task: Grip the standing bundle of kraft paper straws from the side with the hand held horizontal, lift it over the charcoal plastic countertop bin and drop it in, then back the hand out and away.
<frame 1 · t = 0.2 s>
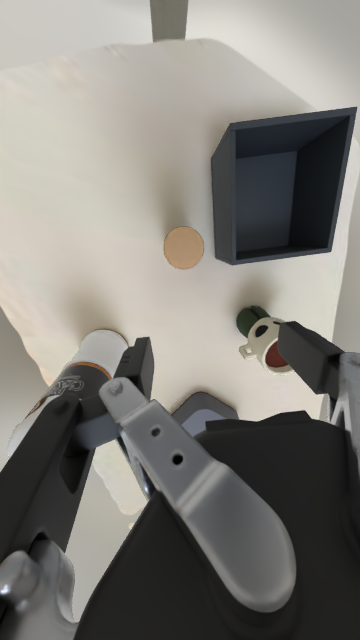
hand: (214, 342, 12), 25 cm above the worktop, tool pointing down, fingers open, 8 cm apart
vodka: (107, 347, 40), on the worktop
straw bundle: (177, 244, 33), on the worktop
character mug: (250, 319, 39), on the worktop
streaming box: (201, 417, 50), on the worktop
bin: (253, 207, 31), on the worktop
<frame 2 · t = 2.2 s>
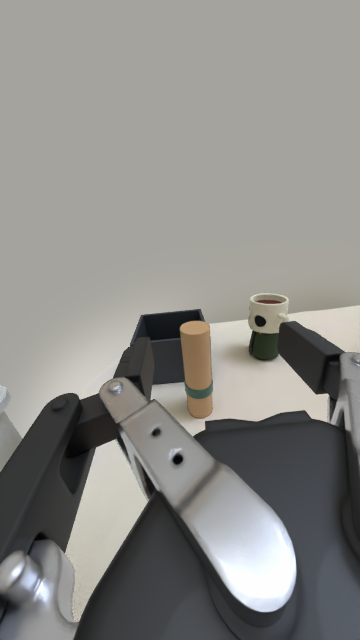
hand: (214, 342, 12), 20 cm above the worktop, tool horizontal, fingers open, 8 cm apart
straw bundle: (200, 407, 32), on the worktop
character mug: (263, 353, 44), on the worktop
bin: (175, 361, 44), on the worktop
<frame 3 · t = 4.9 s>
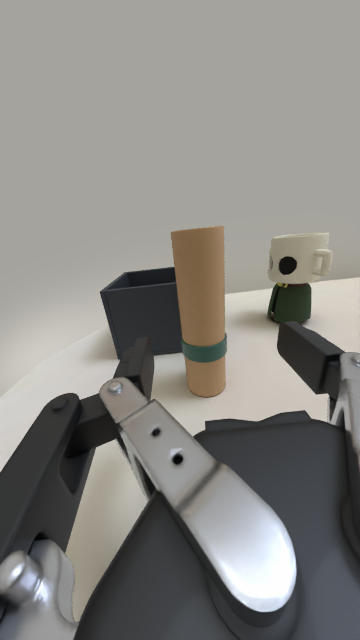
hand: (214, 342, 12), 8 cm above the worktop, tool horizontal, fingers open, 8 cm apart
straw bundle: (206, 382, 21), on the worktop
character mug: (287, 319, 33), on the worktop
bin: (169, 331, 33), on the worktop
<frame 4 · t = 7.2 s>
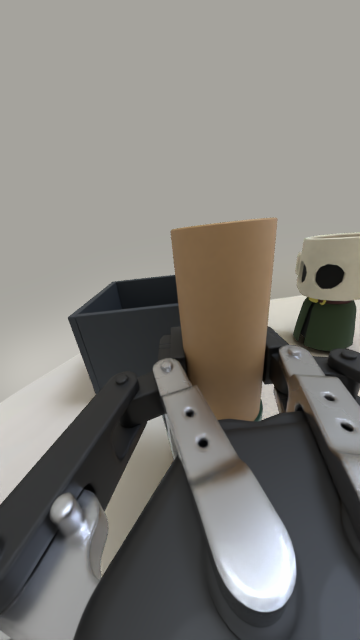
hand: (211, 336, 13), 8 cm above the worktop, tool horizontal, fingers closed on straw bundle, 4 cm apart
straw bundle: (223, 459, 14), on the worktop, touching gripper
character mug: (319, 343, 26), on the worktop
bin: (169, 358, 26), on the worktop
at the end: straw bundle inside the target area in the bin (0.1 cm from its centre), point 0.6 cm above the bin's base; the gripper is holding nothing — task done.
